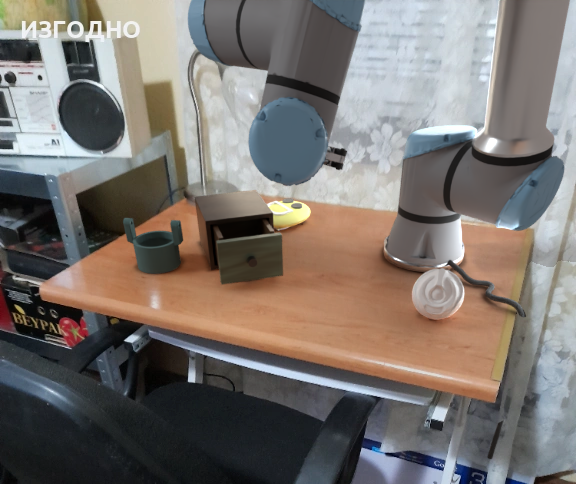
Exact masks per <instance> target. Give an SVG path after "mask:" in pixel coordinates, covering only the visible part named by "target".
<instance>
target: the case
mask: <svg viewBox="0 0 576 484" xmlns="http://www.w3.org/2000/svg"><path fill="white" fill-rule="evenodd" d="M267 204H268V203H266V202H265V200H264V199H263V197H262V196H261V194H260V193H259V191H257V189H250V190H242V191H233V192H232V191H231V192H223V193H214V194H206V195H197V196H194V205H195V212H196V213H195V214H196V219H197V221H196V222H197V229H198V234H199V236H198V237H199V243H200V246H201V248H202V251H203V253H204V256H205V258H206V260H207V263H208V267H209V268H210V271H214V270H219V266H218V264H217V262H216V259H215V257H214V254H213V246H212V237H211V228H210V225H212V224H221V223H229V222H237V221H245V220H253V219H261V218H266V220H267V221H268V223H269V224H270V226H271V227H272V228H273V230H274V231H275V228H274V225H273V212H272V211H271V209H270V208H269V207H268V205H267Z"/></svg>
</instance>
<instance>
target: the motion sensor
mask: <svg viewBox="0 0 576 484" xmlns="http://www.w3.org/2000/svg"><path fill="white" fill-rule="evenodd" d="M464 287H465V286H464V285H463V282H462V280H461V279H460V277H459V276H458V275H457V274H456V273H455V272H453V271H451V270H445V269H443V268H441V269H432V270H429V271H427V272H423V273H422V274H421V275H420V276H419V277H418V278H417V280H416V281H415V283H414V284H413V286H412V289H411V300H412V303H413V306H414V308H415V309H416V311H417V312H418V313H419V314H420V315H421V316H423V317H425V318H427V319H430V320H435V321H438V320H444V319H447V318H449V317H452V316H453V315H454V314H455V313H456V312H457V311H458V310H459V309H460V308H461V306H462V305H463V302H464V299H465V288H464Z"/></svg>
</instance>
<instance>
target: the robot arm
mask: <svg viewBox="0 0 576 484" xmlns="http://www.w3.org/2000/svg"><path fill="white" fill-rule="evenodd" d="M366 2H367V0H190V3H189V6H188V11H187V27H188V32H189V36H190V38H191V40H192V44H193V45H194V46H195V48H196V50H197V51H198V52H199V53H200V54H201V55H202V56H204V57H205V58H206V59H207V60H210V61H213V62H216V63H218V64H221V65H223V66H227V67H238V68H244V69H251V70H259V71H265V72H266V71H267V72H266V73H267V74H266V79H265V83H264V89H263V93H262V98H261V102H260V107H259V111H258V112H257V113H256V115H255V117H254V119H253V120H252V121H251V122H252V123H251V125H250V127H249V133H248V142H247V143H248V150H249V151H248V152H249V155H250V158H251V160H252V162H253V164H254V166H255V167H256V169H257V170H258V172H260V173H261V174H262V176H263V177H265V178H266V179H268V180H269V181H271V182H274V183H276V184H280V185H282V186H285V187H292V186H294V185H295V186H299V185H302V184H305V183H307V182H309V181H310V180H312V178H314V177H315V176H316V174H318V173H319V171H320V169H321V168H322V167H323V166H327V167H331V168H334V169H335V170H336V171H342V170H343V168H344V164H345V162H346V158H347V154H348V150H346V148H345V147H341V148H339V147H335V146H330V145H329V142H330V139H331V135H332V132H333V128H334V124H335V121H336V118H337V113H338V110H339V104H340V100H341V97H342V93H343V90H344V87H345V83H346V79H347V75H348V72H349V69H350V65H351V61H352V58H353V55H354V52H355V47H356V45H357V41H358V37H359V33H360V32H361V31H362V27H363V26H362V21H363V17H364V13H365V12H364V11H365V7H366ZM570 3H571V0H498V2H497V12H496V19H495V20H496V21H495V27H494V28H495V30H494V37H493V45H492V47H493V48H492V54H491V65H490V73H489V83H488V92H487V100H486V109H485V117H484V127H483V128H482V129H481V130H480V131H479V132H478V129H477V128H476V127H474V126H472V125H464V124H463V125H462V124H461V125H460V124H459V125H458V124H454V125H453V124H452V125H449V124H448V125H438V126H430V127H424V128H421V129H417V130H415V131H413V132H411V133H410V134H409V135H408V137H407V138H406V141H405V148H404V153H403V156H402V165H401V176H400V184H399V185H400V186H399V195H398V196H399V197H398V205H397V213H396V217H395V219H394V221H393V222H392V226H391V229H390V231H389V234H388V236H385V237H384V240H383V256H384V258H385V259H386V260H387V261H388V262H389V263H391V265H394V266H396V267H397V268H398V267H399V268H400V269H404V270H407V271H413V272H419V273H425V272H427V271H429V270H432V269H441V268H443V269H445V270H449V271H451V270H454V271H455V272H456V273H458V274H459V276H460V277H461V278H462V279H463V280H464V281H465V282H467V283H468V284H469V285H473V286H476V287H477V286H478V287H487V288H486V290H485V291H484V295H485V297H486V298H487V299H489V300H490V301H492V302H496V303H500V304H501V303H502V304H506V305H509V306H511V307H512V308H514V310H516V312H517V314H518V316H519V317H521V318H526V317H527V315H526V312H525V310H524V308H523V306H522V305H521V304H520V303H519V302H517V301H516V300H514V299H511V298H509V297H504V296H500V295H499V296H498V295H497V294H493V292H494V290H495V284H494V283H493V282H491V281H489V280H480V279H475V278H472V277H470V275H468V274H467V273H466V271H465V270H464V269H463V268H461V266H460V265H461V263H463V260H464V256H465V244H464V242H463V230H462V221H461V220H462V216H464V217H468V218H471V219H474V220H476V221H477V220H478V221H481V222H483V223H486V224H490V225H493V226H495V227H496V228H498V229H501V228H502V229H506V230H509V231H510V230H511V231H513V232H514V231H515V232H521V231H525V230H527V229H529V228H531V227H532V226H533V225H534V224H536V223H537V222H538V220H540V218H542V217H543V215H544V214H545V213H546V211H547V210H548V208H549V207H550V205H551V204H552V203H553V201H554V199H555V197H556V195H557V193H558V192H559V189H560V186H561V184H562V181H563V178H564V176H565V175H564V174H565V163H564V161H563V160H562V159H561V158H560V157H559V156H558V155H552V154H553V149H554V144H555V136H554V134H553V133H552V132H551V131H550V130H549V128H548V127H547V123H548V117H549V113H550V108H551V101H552V97H553V91H554V86H555V80H556V75H557V70H558V65H559V59H560V55H561V49H562V44H563V39H564V33H565V28H566V22H567V17H568V13H569V6H570ZM505 421H506V419H503V420H501V421H499V422H497V425H496V427H495V431H494V433H493V436H492V440H491V443H490V446H489V449H488V452H487V453H488V454H487V460H492V459H493V457H494V454H495V451H496V448H497V444H498V441H499V438H500V435H501V433H502V429H503V426H504V424H505Z"/></svg>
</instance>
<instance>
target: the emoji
mask: <svg viewBox="0 0 576 484" xmlns="http://www.w3.org/2000/svg"><path fill="white" fill-rule="evenodd" d="M266 204H267V205H268V207H269V208H270V209H271V211H272V212H273V225H274V230H276V231H277V232H279V231H282V230H287V229H288V228H290V227H294V226H296V225H299V224H302V223H303V222H305V221H306V220H308V219H309V217H311V216H310V215H311V209H310V207H309V206H308V205H307V204H305V203H303V202H300V201H295V199H294V198H293V197H286V198H283V199H282V200H274V201H271V202H267V203H266Z"/></svg>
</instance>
